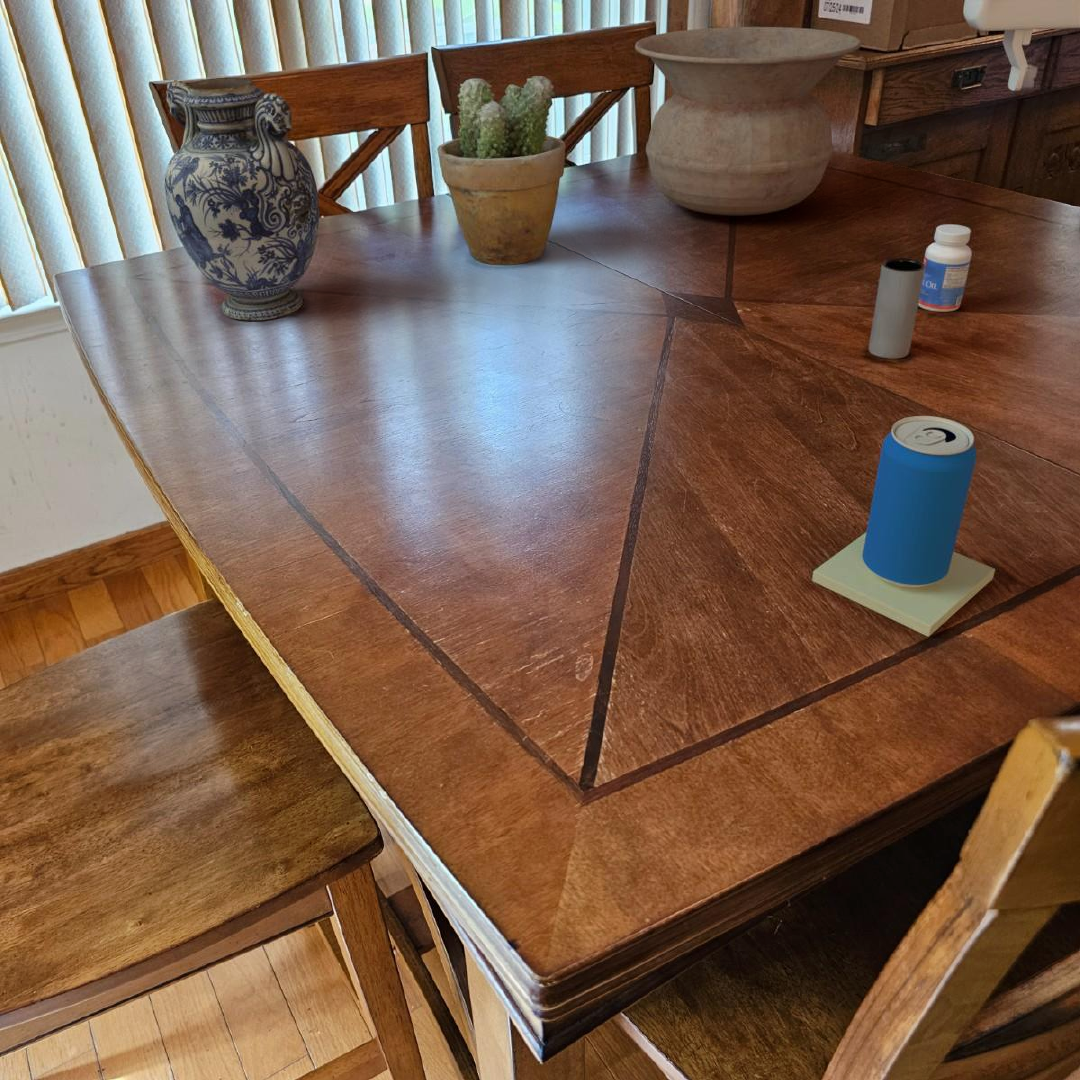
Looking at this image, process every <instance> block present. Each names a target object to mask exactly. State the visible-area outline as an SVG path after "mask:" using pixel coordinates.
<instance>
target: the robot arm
mask: <svg viewBox="0 0 1080 1080" xmlns="http://www.w3.org/2000/svg"><path fill="white" fill-rule="evenodd" d="M962 9H963V11H962V13H963V17H964V19H965V21H966V22H967V24H968V26H969V27H970V28H973V29H975V30H978V31H981V32H982V31H983V32H996V31H1000V32H1001V31H1004V33H1003V38H1002V44H1003V47H1004V51H1005V53H1006V56H1007V58H1008V62H1009V63H1010V64H1009V65H1011V67H1010V72H1009V77H1008V82H1007V88H1008V90H1010V91H1012V92H1024V91H1033V89H1034V87H1035V80H1034V79H1036V77H1037V74H1038V69H1039V68H1038V67H1037V66H1034V65H1033V64H1028V61H1027V58H1026V55H1025V52H1024V49H1023V46H1028V45H1030V44H1031V38H1032V35H1033V31H1034V30H1055V29H1056V30H1059V29H1061V30H1062V29H1080V0H964V3H963V8H962Z"/></svg>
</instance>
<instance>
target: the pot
mask: <svg viewBox="0 0 1080 1080" xmlns="http://www.w3.org/2000/svg"><path fill="white" fill-rule="evenodd" d="M861 46H862V41H861V40H860V39H859V38H858V37H856V36H854V35H851V34H847V33H843V32H839V31H832V30H826V29H815V28H804V27H786V26H785V27H784V26H783V27H782V26H731V27H730V26H729V27H710V28H696V29H687V30H686V29H685V30H677V31H676V30H675V31H670V32H663V33H659V34H653V35H650V36H647V37H644V38H641V39H639V40H637V41H636V43H635V46H634V49H635V50H636V51H637V52H638V53H639V54H641V55H643V56H645V57H649V59H650V60H651V61H652V62H653V63H654V65H655V66H656V68H657V69H658V70H659V71H660V72H661V74H662V75H663V76H664V77H665V78H666V80H667V81H668V82H669V84H670V85H671V88H672V90H673V92H674V93H673V95H672V96H671V97H669V98H668V99H667V100H665V101H664V102H663V104H661V105H660V106H659V108H658V109H657V111H656V113H655V115H654V118H653V121H652V123H651V127H650V131H649V134H648V135H649V136H648V140H647V142H646V146H645V153H646V156H647V160H648V165H649V170H650V174H651V176H652V179H653V181H654V183H655V185H656V186H657V188H658V191H659V192H660V193H661V194H663V196H664V197H665V198H666V199H667V200H669V201H670V202H671V203H674V204H676V205H678V206H680V207H682V208H685V209H687V210H690V211H693V212H699V213H703V214H710V215H716V216H717V215H719V216H756V215H765V214H770V213H775V212H779V211H783V210H785V209H788V208H791V207H793V206H795V205H798V204H799V203H801V202H802V201H804V200H805V199H806V198H807V197H808V196H810V195H811V194H813V192H814V191H815V190H816V188H817V187H818V186H819V184H820V183H821V181H822V179H823V176H824V174H825V171H826V170H827V167H828V164H829V161H830V159H831V157H832V156H833V152H834V145H833V133H832V125H831V121H830V116H829V114H828V112H827V109H826V108H825V106H824V104H823V103H822V102H821V101H820V100H819V99H818V98H816V96H814V95H813V90H814V89H815V87H816V85H817V84H818V83H819V82H821V80H822V79H823V78H824V77H825V76H826V75H827V74H828V73H829V71H831V70H832V69H833V68H834V66H836V65H837V63H838V62H839V61H840V60H841V59H842V58H843V57H845V55H849V54H852V53H853V52H856V51H858V50H859V49H860V47H861Z"/></svg>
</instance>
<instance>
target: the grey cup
mask: <svg viewBox="0 0 1080 1080" xmlns="http://www.w3.org/2000/svg"><path fill="white" fill-rule="evenodd" d="M924 271H925V265H924V264H923V261H920V260H917V259H914V258H909V257H893V258H888V259H885V260H883V262H882V263H881V268H880V274H879V281H878V286H877V294H876V298H875V306H874V311H873V317H872V325H871V330H870V337H869V342H868V352H869V353H870V354H872V355H873V356H876V357H879V358H882V359H889V360H890V359H892V360H894V359H902V358H905V357H907V356H908V355H909V354H910V350H911V344H912V341H913V335H914V329H915V323H916V320H917V319H916V317H917V315H918V314H917V313H918V307H919V305H918V303H919V298H920V292H921V287H922V281H923V276H924Z"/></svg>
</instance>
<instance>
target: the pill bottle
mask: <svg viewBox="0 0 1080 1080" xmlns="http://www.w3.org/2000/svg"><path fill="white" fill-rule="evenodd" d="M934 232H935V233H934V236H933V239H934V241H935V242H932V243H931V244H928V246H927V247H926V249H925V253H924V257H923V261H922V263H923V264H924V265H925V271H924V276H923V281H922V287H921V292H920V298H919V303H918V307H920V308H922V309H924V310H926V311H931V312H935V313H936V312H937V313H947V312H954V311H956V310H958V309H959V308H960V307H961V304H962V301H963V296H964V291H965V287H966V283H967V279H968V275H969V270H970V265H971V260H972V254H973V251H972V249H971V247H970V246H968V245H967V244H968V243H969V242H970V238H971V233H972V229H970V227H968V226H964V225H960V224H952V223H950V224H947V223H946V224H940V225H938V226H937V227H936V228H935V231H934Z"/></svg>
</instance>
